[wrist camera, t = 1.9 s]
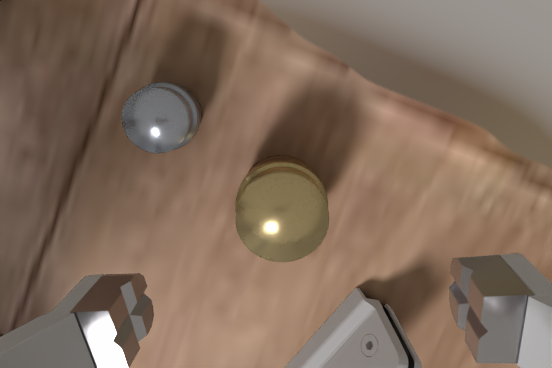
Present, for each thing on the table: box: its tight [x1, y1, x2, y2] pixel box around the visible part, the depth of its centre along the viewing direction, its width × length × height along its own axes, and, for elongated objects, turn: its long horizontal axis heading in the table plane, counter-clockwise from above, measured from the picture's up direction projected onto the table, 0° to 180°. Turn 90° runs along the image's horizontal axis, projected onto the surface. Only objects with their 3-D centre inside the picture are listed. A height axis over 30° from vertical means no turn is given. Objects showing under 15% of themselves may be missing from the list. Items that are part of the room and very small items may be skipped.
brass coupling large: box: [235, 155, 329, 262], centre depth 33 cm, size 8×8×7 cm
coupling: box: [122, 82, 202, 153], centre depth 31 cm, size 6×6×6 cm
